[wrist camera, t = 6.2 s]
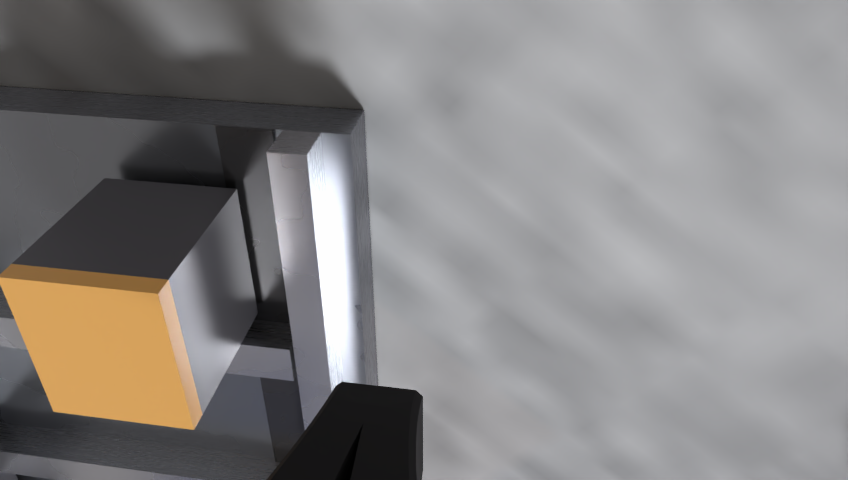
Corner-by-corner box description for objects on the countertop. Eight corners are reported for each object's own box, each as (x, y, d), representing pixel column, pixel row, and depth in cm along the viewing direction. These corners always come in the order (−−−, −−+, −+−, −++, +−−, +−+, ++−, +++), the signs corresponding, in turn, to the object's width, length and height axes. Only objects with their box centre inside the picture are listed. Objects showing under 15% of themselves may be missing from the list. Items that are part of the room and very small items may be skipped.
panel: (386, 549, 24) (372, 613, 22) (-136, 472, 27) (-187, 523, 25) (364, 110, 15) (337, 157, 13) (-418, 59, 18) (-527, 92, 16)
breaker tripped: (257, 313, 17) (194, 429, 14) (139, 300, 17) (53, 411, 14) (237, 188, 15) (157, 293, 12) (104, 178, 15) (-3, 276, 12)
